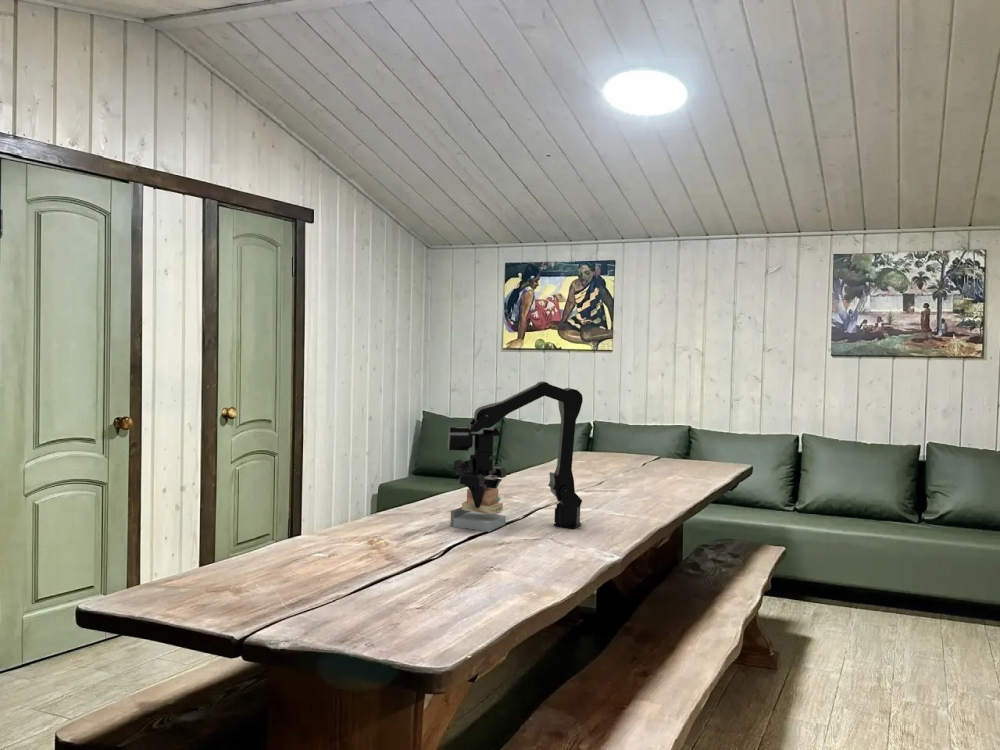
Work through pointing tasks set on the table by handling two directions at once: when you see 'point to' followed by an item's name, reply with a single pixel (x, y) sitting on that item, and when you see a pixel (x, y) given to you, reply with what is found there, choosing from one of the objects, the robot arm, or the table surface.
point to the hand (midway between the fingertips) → (482, 505)
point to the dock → (476, 520)
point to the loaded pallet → (483, 509)
